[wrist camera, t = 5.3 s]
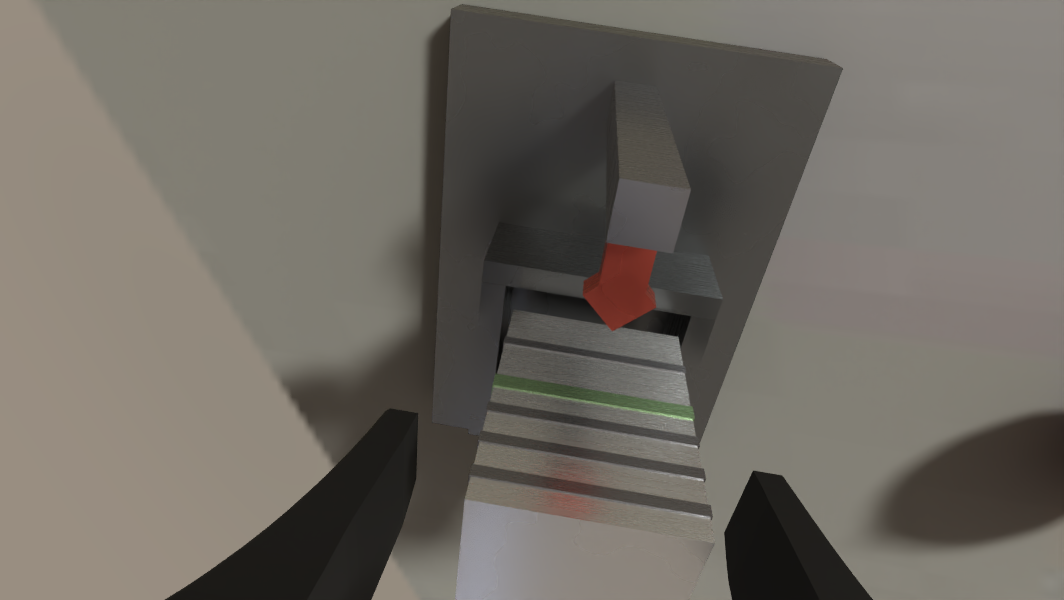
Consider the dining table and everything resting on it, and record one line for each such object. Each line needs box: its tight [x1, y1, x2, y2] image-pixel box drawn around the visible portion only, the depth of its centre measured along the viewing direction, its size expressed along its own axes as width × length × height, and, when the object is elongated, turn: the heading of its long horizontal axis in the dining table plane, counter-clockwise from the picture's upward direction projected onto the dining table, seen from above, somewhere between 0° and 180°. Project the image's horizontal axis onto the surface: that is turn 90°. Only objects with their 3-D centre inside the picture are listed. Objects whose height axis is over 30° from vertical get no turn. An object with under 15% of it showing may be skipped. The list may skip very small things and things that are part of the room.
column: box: [455, 310, 715, 600], centre depth 13 cm, size 4×4×6 cm
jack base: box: [432, 4, 843, 443], centre depth 14 cm, size 13×9×8 cm
